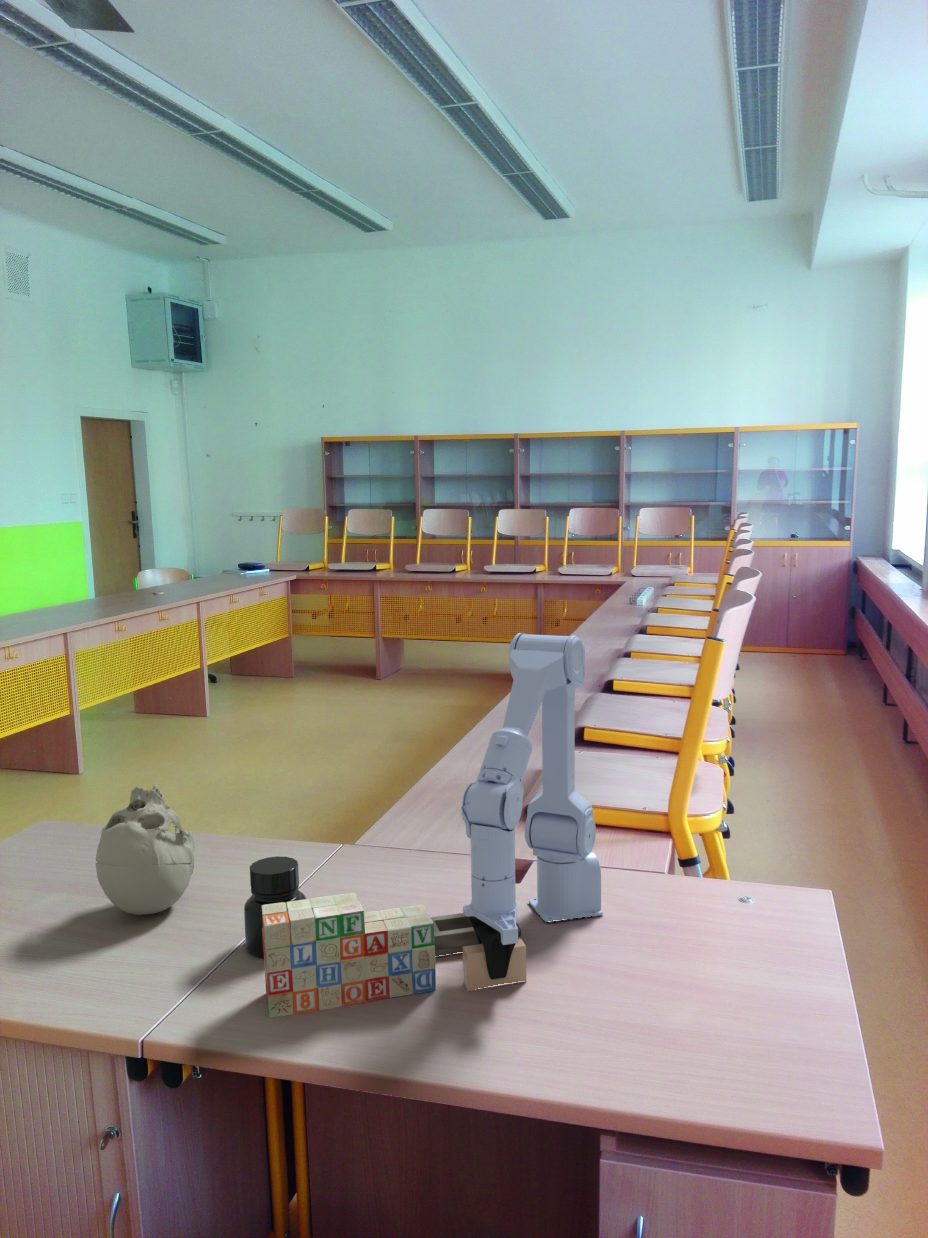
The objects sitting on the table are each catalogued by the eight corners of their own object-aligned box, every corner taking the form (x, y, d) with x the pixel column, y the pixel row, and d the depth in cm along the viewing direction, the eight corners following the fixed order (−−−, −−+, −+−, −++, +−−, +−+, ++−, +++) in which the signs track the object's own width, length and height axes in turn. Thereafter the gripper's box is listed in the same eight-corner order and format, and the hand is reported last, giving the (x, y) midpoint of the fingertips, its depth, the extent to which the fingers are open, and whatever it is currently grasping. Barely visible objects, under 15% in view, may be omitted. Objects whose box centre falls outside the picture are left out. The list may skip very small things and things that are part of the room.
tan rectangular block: (521, 974, 121) (520, 938, 120) (526, 982, 119) (526, 946, 118) (463, 983, 119) (462, 946, 118) (467, 991, 117) (466, 954, 116)
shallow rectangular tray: (505, 926, 135) (505, 907, 135) (519, 945, 129) (518, 925, 129) (424, 937, 132) (423, 917, 132) (434, 958, 126) (433, 937, 125)
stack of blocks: (425, 969, 123) (423, 882, 122) (436, 992, 117) (434, 901, 116) (264, 994, 117) (260, 903, 116) (267, 1019, 111) (263, 924, 110)
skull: (205, 894, 149) (199, 775, 146) (167, 936, 134) (159, 805, 132) (131, 892, 150) (124, 774, 148) (85, 933, 135) (76, 803, 133)
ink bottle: (293, 964, 125) (289, 880, 123) (234, 959, 127) (229, 876, 125) (318, 932, 134) (315, 854, 133) (263, 928, 136) (259, 851, 135)
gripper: (449, 856, 123) (451, 951, 125) (478, 899, 109) (480, 1005, 111) (499, 850, 125) (500, 944, 126) (533, 891, 111) (534, 996, 112)
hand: (494, 972), depth 119 cm, fingers closed on tan rectangular block, 2 cm apart
